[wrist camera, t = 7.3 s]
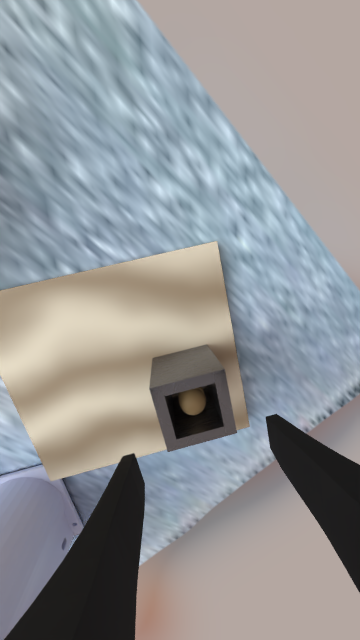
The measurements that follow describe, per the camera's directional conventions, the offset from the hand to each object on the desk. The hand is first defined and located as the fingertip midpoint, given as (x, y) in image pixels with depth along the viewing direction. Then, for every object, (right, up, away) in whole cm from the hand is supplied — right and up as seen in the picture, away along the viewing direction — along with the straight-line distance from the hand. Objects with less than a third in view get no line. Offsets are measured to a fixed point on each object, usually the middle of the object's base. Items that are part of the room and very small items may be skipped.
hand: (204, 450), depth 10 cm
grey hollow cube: (-1, +2, +8) cm, 8 cm away
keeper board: (-6, +3, +9) cm, 11 cm away
